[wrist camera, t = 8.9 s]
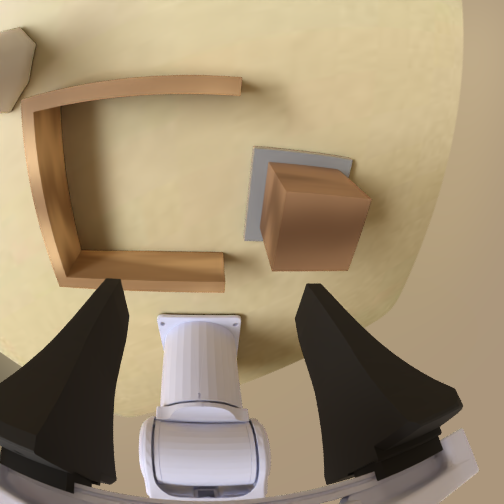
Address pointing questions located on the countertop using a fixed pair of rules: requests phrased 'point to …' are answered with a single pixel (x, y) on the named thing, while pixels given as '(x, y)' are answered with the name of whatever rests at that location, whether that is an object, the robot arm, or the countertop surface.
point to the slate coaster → (260, 172)
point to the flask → (14, 66)
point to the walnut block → (311, 218)
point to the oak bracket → (59, 205)
